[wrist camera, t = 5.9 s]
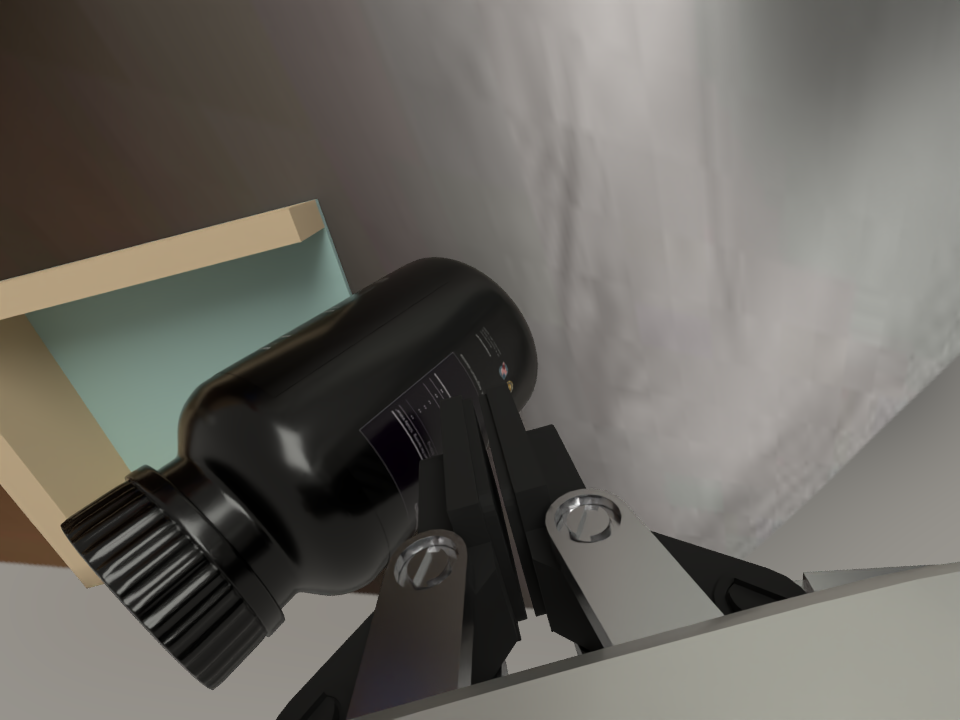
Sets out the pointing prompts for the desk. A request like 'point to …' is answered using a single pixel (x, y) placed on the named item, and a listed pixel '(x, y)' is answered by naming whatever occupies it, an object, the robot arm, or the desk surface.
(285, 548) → the supplement bottle
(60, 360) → the wooden tray
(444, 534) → the robot arm
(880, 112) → the desk surface
